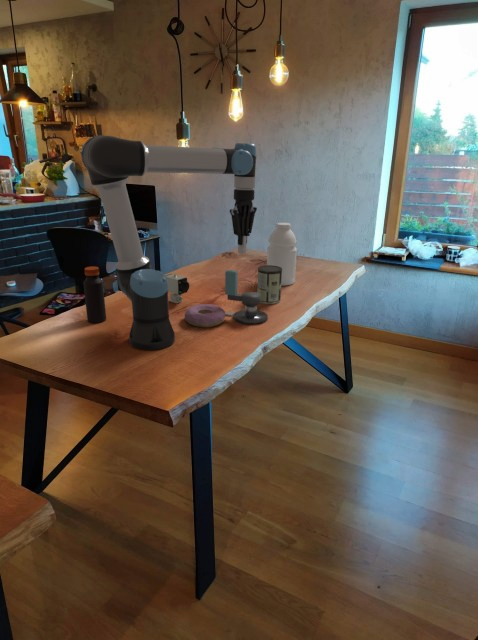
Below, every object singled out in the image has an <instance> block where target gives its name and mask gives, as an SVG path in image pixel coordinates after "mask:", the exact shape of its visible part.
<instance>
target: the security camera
mask: <svg viewBox="0 0 478 640" xmlns="http://www.w3.org/2000/svg"><path fill="white" fill-rule="evenodd" d="M165 275H166V277H167V282H168V293H171V294H169V299H170V300H169V302H170V303H174V304H178V303H181V302H182V301H183V297H182V295H183V294H187V293H188V291H189V289H190V283H189V282H188V278H187V277H185V276H183V275H180V274H179V275H177V273H170V274H165Z"/></svg>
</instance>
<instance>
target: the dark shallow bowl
mask: <svg viewBox="0 0 478 640" xmlns="http://www.w3.org/2000/svg"><path fill="white" fill-rule="evenodd" d="M225 315H226V316H225V317H227V316H228V317H233V320H234V321H235V322H237V323H239V324H242V325H248V326H249V325H250V326H251V325H252V326H253V325H254V326H255V325H261V324H264V323H266V322H267V321H268V319H269V316H268V313H266V312H264V311H263V310H260V309H259V310H258V305H256V306H247V305H244V309H240V310H237V311H233V312H232V311H227V312H225Z"/></svg>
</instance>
